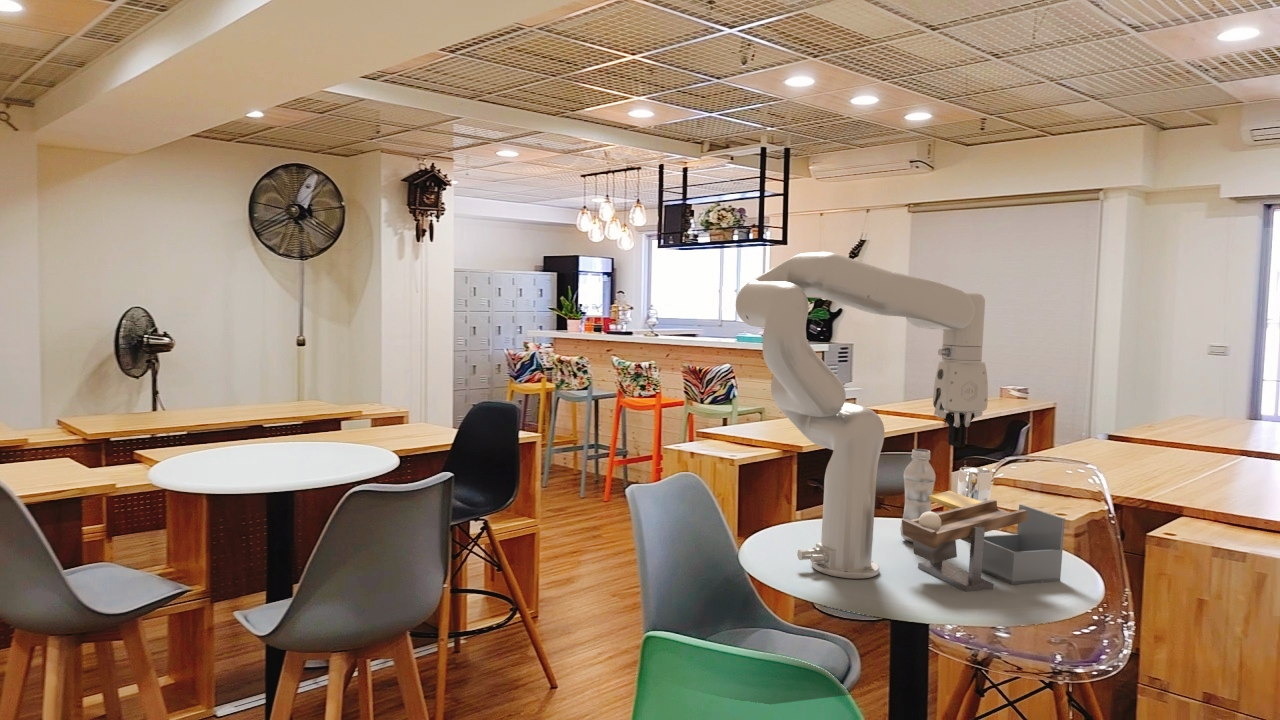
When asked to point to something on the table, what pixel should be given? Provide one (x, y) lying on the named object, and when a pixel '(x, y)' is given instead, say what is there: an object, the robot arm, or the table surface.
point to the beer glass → (975, 483)
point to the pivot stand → (958, 575)
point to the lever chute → (957, 525)
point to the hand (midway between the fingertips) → (956, 445)
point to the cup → (1027, 550)
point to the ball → (930, 520)
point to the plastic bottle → (918, 486)
